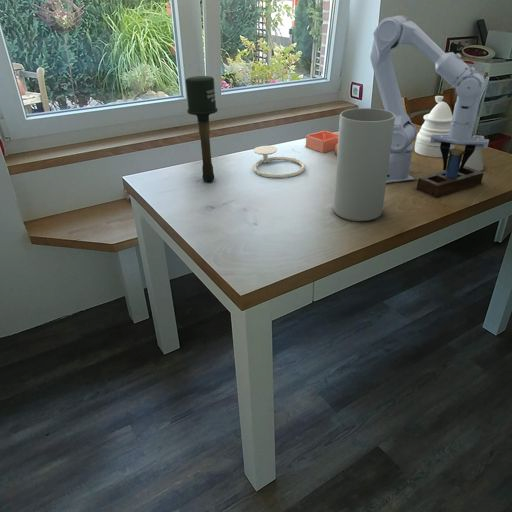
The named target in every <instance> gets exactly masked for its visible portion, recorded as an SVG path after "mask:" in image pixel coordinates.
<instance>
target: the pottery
mask: <svg viewBox="0 0 512 512" xmlns="http://www.w3.org/2000/svg"><path fill="white" fill-rule="evenodd" d="M338 137H339V133H335V132H332V131H328V130H322V131H318V132H313V133H310V134H306V135H305V147H306V148H308V149H311V150H313V151H317V152H320V153H322V154H324V153H328V152H330V151H334V152H335V155H336V156H337V152H338Z"/></svg>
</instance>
